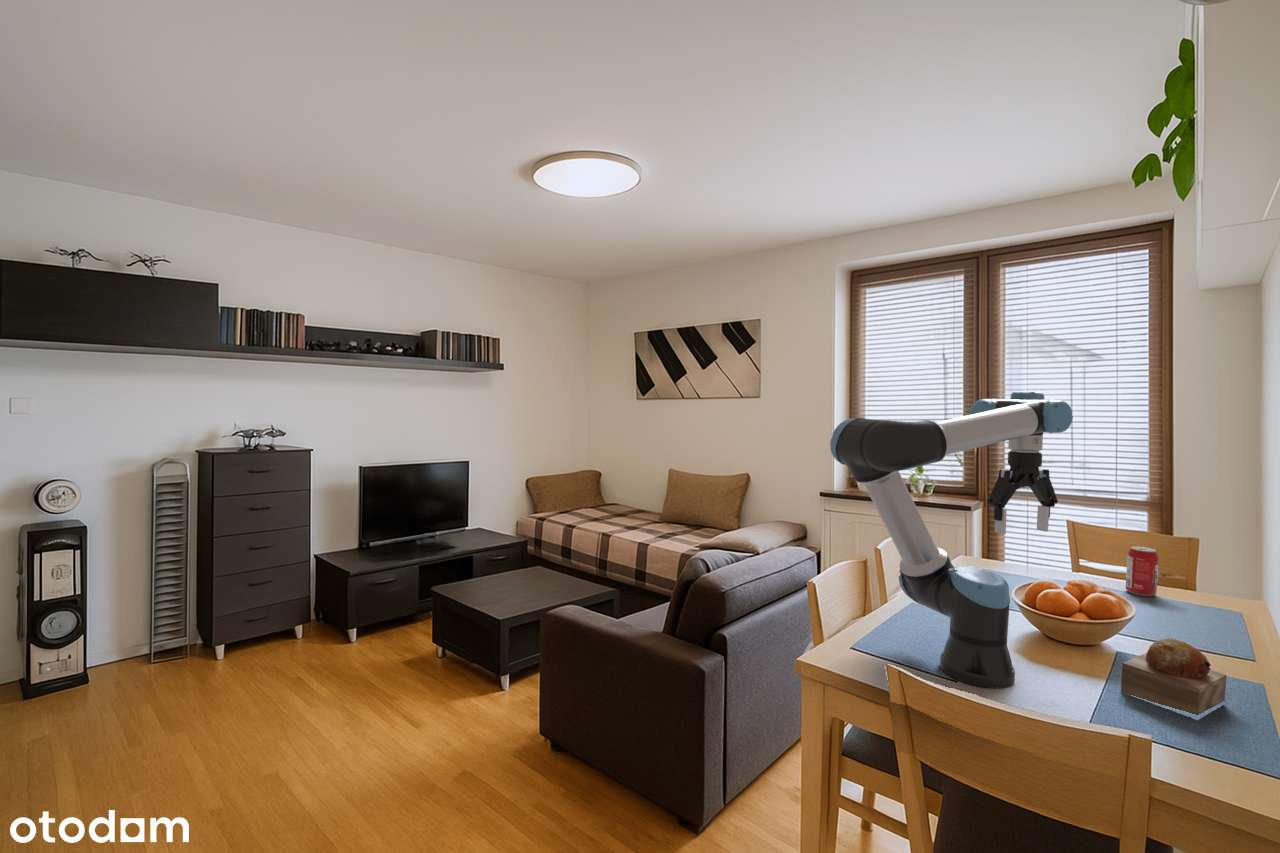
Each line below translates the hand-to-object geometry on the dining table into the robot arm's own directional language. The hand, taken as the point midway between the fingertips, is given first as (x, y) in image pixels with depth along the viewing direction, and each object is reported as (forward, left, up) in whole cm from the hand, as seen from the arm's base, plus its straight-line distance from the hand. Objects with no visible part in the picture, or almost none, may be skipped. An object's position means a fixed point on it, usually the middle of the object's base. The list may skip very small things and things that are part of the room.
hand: (1021, 531), depth 158 cm
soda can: (+72, +21, -29) cm, 80 cm away
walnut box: (+6, -33, -29) cm, 45 cm away
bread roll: (+6, -34, -22) cm, 41 cm away
